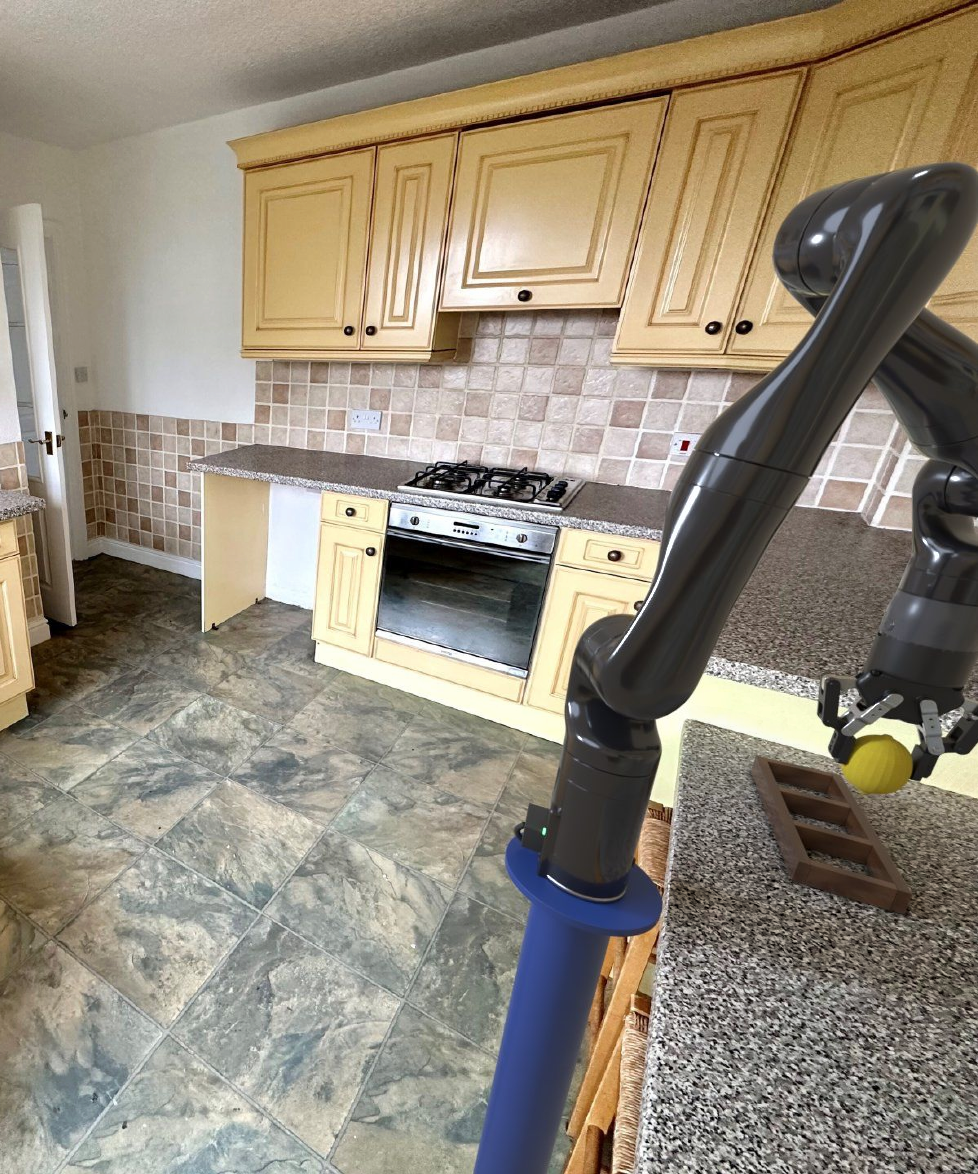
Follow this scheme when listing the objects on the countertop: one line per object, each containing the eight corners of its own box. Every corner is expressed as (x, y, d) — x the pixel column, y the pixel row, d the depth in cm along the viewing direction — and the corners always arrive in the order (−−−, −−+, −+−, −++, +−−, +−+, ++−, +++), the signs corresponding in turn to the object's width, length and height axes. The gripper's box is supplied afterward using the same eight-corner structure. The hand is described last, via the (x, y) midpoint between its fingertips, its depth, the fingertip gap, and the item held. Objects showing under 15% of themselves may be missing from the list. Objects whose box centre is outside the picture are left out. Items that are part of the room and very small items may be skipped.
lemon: (906, 815, 71) (934, 753, 68) (840, 799, 73) (865, 739, 71) (885, 788, 75) (910, 730, 73) (824, 774, 78) (846, 717, 75)
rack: (791, 881, 78) (798, 861, 77) (750, 771, 100) (755, 755, 99) (903, 915, 73) (913, 894, 72) (834, 791, 95) (841, 774, 94)
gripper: (1009, 638, 68) (947, 772, 73) (829, 611, 75) (784, 736, 80) (1050, 663, 62) (979, 808, 67) (850, 631, 68) (800, 765, 74)
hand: (873, 768), depth 73 cm, fingers closed on lemon, 5 cm apart
